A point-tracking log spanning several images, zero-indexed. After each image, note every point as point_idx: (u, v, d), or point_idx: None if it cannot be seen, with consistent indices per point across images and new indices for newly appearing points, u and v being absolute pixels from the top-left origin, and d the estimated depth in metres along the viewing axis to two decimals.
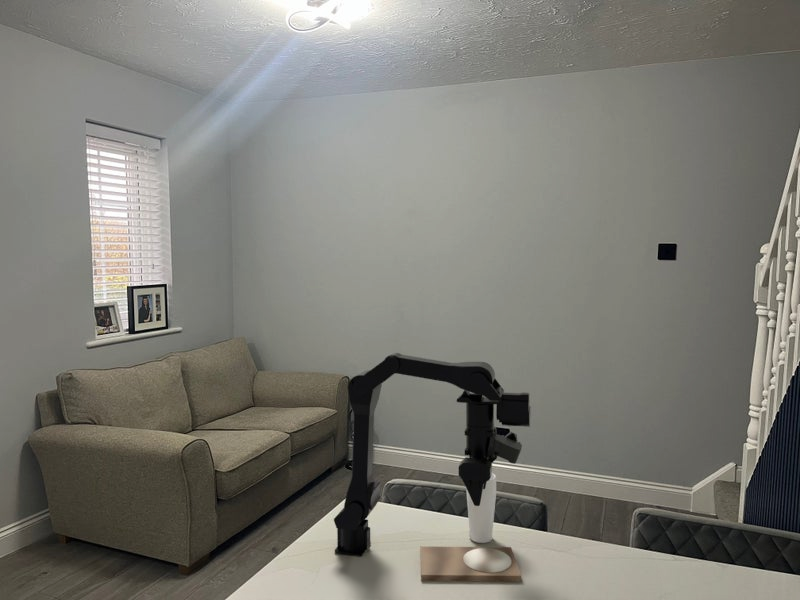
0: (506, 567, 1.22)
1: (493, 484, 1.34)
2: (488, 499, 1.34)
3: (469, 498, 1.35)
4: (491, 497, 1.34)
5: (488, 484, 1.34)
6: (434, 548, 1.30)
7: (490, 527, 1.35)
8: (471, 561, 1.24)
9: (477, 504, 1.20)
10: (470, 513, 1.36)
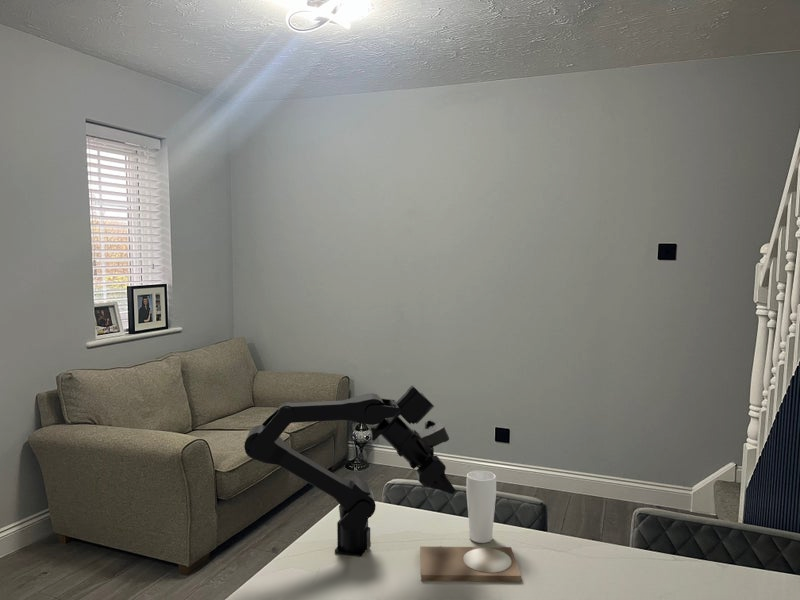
0: (506, 567, 1.22)
1: (493, 484, 1.34)
2: (488, 499, 1.34)
3: (469, 498, 1.35)
4: (491, 497, 1.34)
5: (488, 484, 1.33)
6: (434, 548, 1.30)
7: (490, 527, 1.35)
8: (471, 561, 1.24)
9: (453, 491, 1.30)
10: (470, 513, 1.36)
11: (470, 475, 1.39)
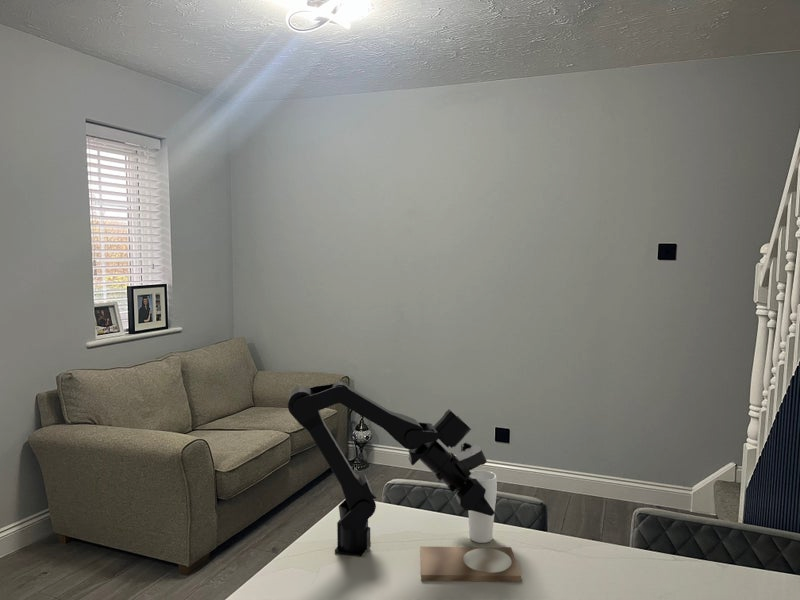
0: (506, 567, 1.22)
1: (493, 484, 1.34)
2: (488, 499, 1.34)
3: None
4: (491, 497, 1.34)
5: (489, 484, 1.34)
6: (434, 548, 1.30)
7: (490, 527, 1.35)
8: (471, 561, 1.24)
9: (492, 513, 1.32)
10: (470, 513, 1.36)
11: (471, 475, 1.39)
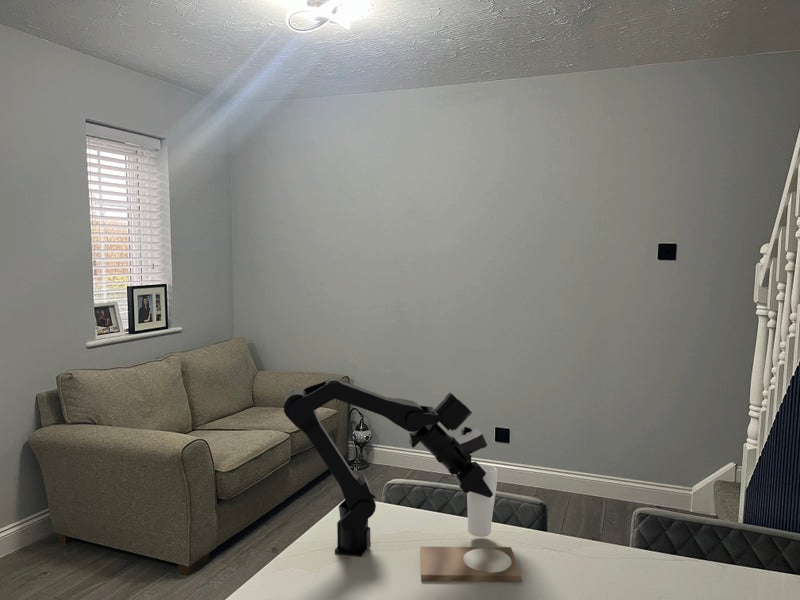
0: (506, 567, 1.22)
1: (494, 476, 1.35)
2: None
3: None
4: (492, 489, 1.34)
5: (490, 476, 1.34)
6: (434, 548, 1.30)
7: (489, 520, 1.35)
8: (471, 561, 1.24)
9: (491, 494, 1.33)
10: (470, 505, 1.35)
11: None
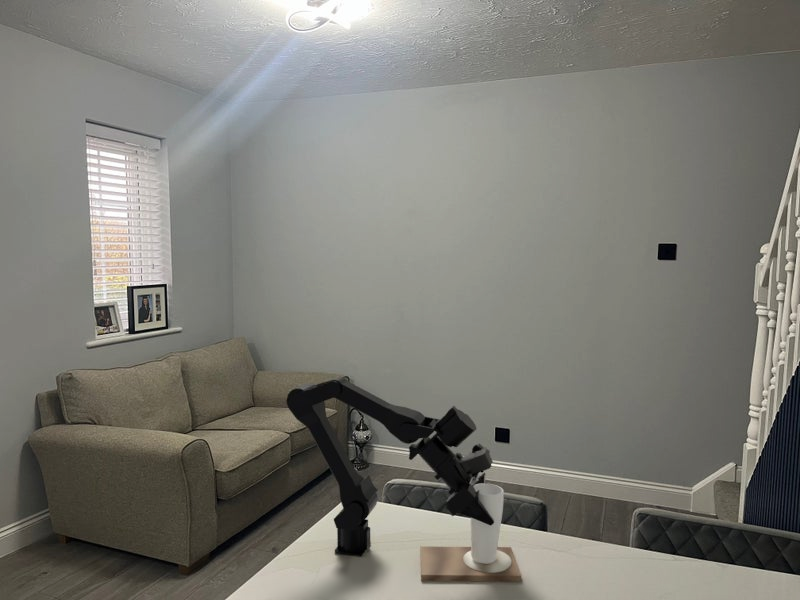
0: (506, 567, 1.22)
1: (496, 501, 1.21)
2: None
3: None
4: (493, 514, 1.21)
5: (490, 500, 1.21)
6: (434, 548, 1.30)
7: (491, 548, 1.22)
8: (471, 561, 1.24)
9: (491, 522, 1.21)
10: (471, 528, 1.24)
11: (478, 487, 1.27)
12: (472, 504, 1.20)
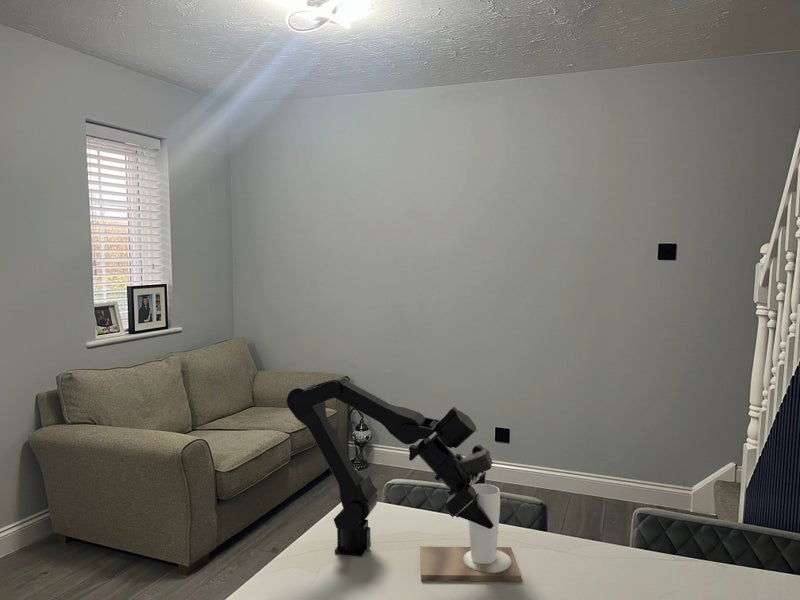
0: (506, 567, 1.22)
1: (492, 500, 1.21)
2: None
3: None
4: (490, 514, 1.21)
5: (486, 500, 1.21)
6: (434, 548, 1.30)
7: (490, 548, 1.22)
8: (471, 561, 1.24)
9: (491, 526, 1.19)
10: (469, 529, 1.24)
11: (475, 488, 1.27)
12: (471, 507, 1.19)
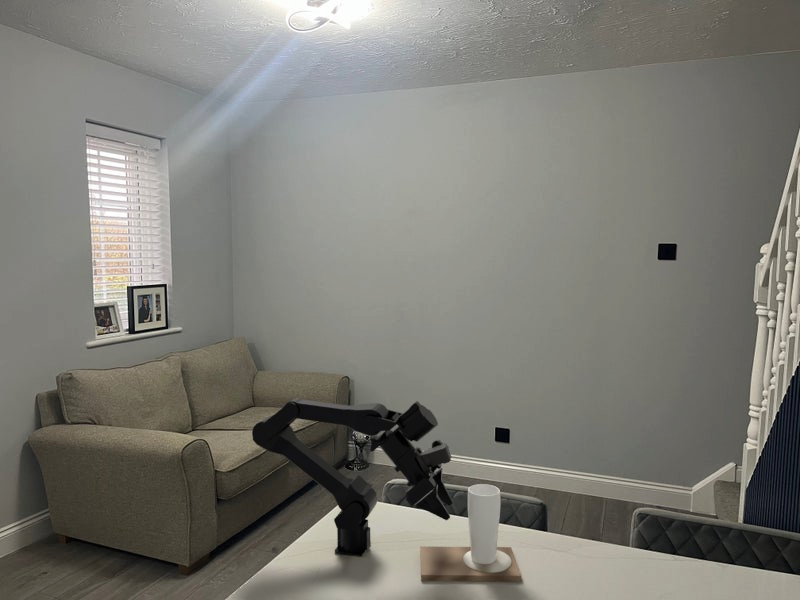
0: (506, 567, 1.22)
1: (493, 501, 1.21)
2: (486, 517, 1.21)
3: (468, 513, 1.24)
4: (490, 515, 1.21)
5: (486, 501, 1.21)
6: (434, 548, 1.30)
7: (490, 548, 1.22)
8: (471, 561, 1.24)
9: (447, 517, 1.22)
10: (469, 529, 1.24)
11: (475, 488, 1.27)
12: (430, 498, 1.22)
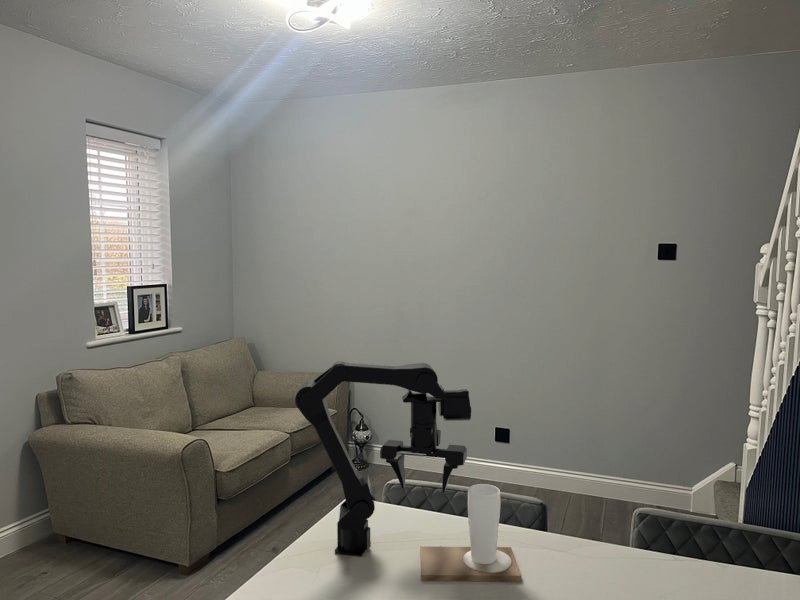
0: (506, 567, 1.22)
1: (493, 501, 1.21)
2: (486, 517, 1.21)
3: (468, 513, 1.24)
4: (490, 515, 1.21)
5: (486, 501, 1.21)
6: (434, 548, 1.30)
7: (490, 548, 1.22)
8: (471, 561, 1.24)
9: None
10: (469, 529, 1.24)
11: (475, 488, 1.27)
12: None
